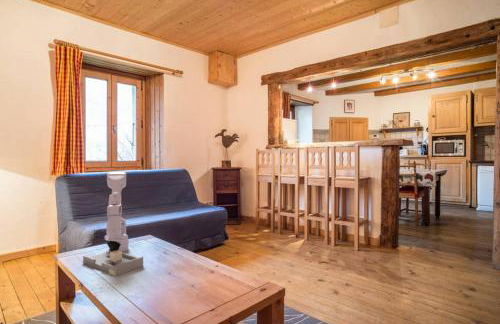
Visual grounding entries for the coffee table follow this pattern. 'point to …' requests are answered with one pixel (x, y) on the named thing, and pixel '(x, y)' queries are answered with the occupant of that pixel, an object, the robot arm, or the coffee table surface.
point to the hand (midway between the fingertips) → (114, 255)
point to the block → (115, 255)
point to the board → (114, 263)
